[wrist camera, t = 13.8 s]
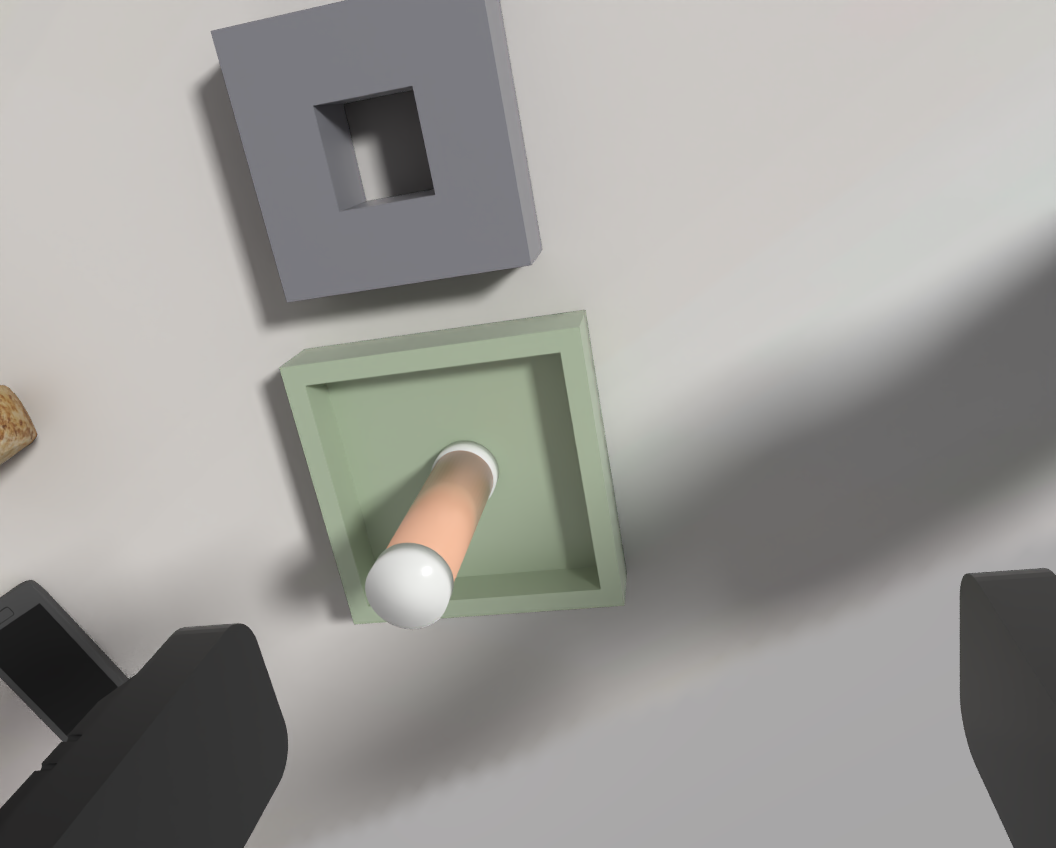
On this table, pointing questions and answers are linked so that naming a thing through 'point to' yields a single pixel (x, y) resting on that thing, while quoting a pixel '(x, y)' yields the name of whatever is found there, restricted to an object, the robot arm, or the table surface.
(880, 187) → the table surface
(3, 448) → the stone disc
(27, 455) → the table surface
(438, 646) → the table surface
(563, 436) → the parts tray
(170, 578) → the table surface
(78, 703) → the cell phone
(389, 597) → the peg
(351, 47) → the grey flat square piece
